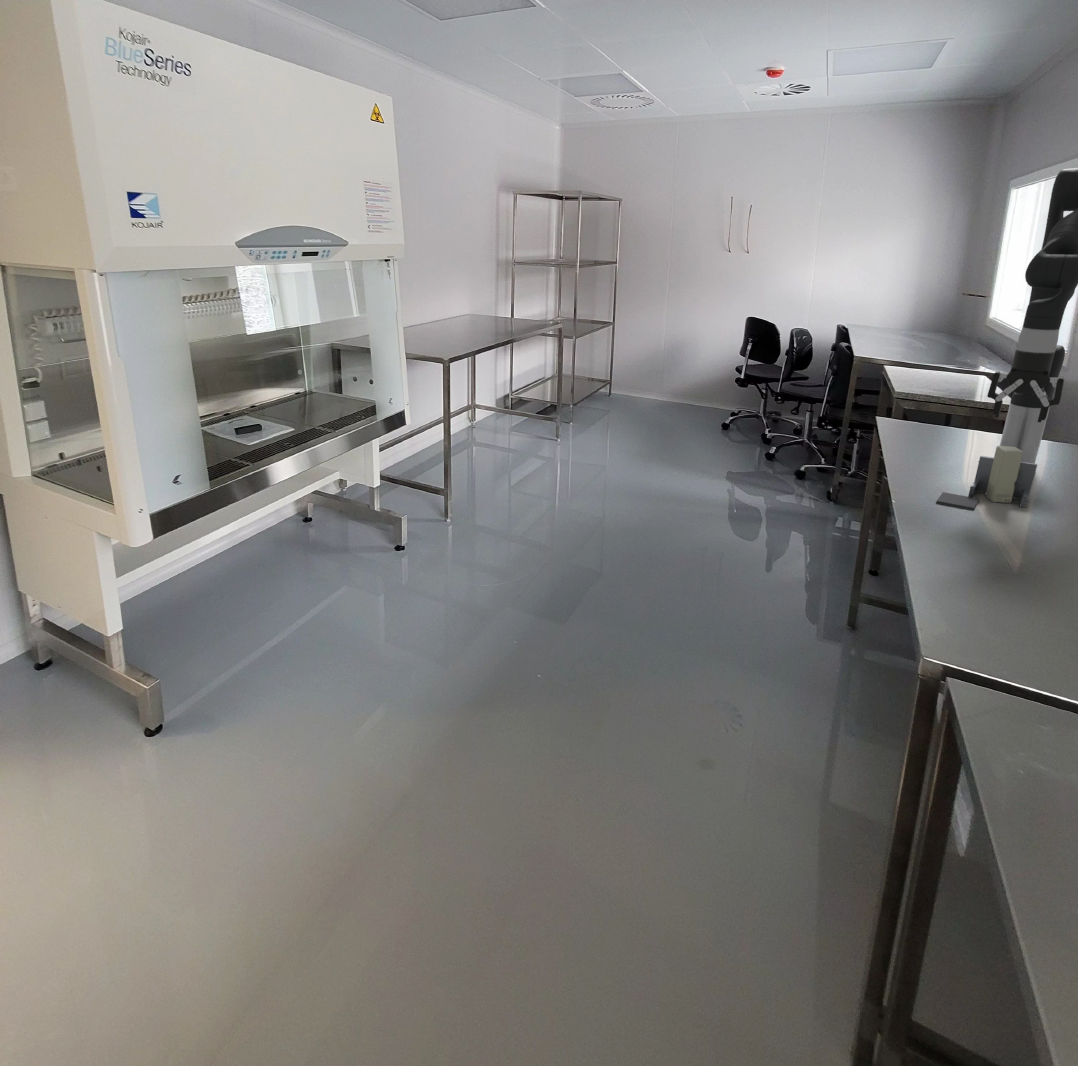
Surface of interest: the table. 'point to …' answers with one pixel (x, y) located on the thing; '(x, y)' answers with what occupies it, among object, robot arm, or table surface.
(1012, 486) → the box
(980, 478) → the rack bay
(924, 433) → the table surface
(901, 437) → the table surface
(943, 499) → the mat
